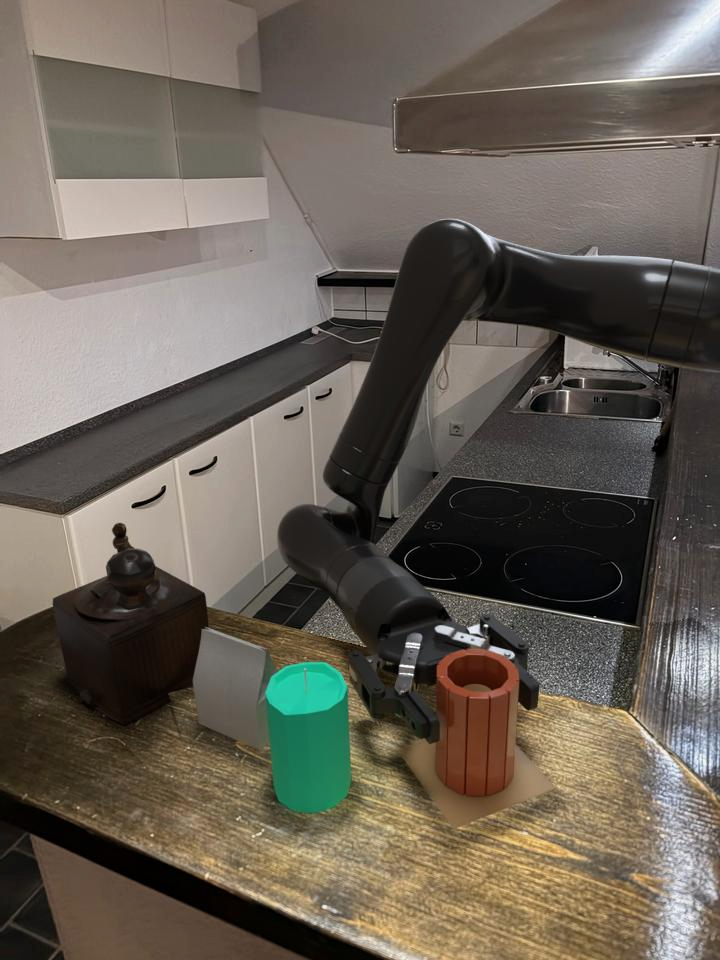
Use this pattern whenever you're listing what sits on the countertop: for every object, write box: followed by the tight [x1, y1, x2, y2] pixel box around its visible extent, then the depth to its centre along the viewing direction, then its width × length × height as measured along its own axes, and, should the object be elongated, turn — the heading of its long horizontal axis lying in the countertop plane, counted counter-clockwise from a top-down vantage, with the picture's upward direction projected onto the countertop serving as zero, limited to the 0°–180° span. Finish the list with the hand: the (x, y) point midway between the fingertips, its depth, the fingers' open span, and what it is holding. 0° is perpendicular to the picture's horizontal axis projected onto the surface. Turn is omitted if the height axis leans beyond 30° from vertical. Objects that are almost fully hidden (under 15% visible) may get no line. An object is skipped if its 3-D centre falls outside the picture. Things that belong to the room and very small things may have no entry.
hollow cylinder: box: [435, 649, 519, 797], centre depth 58 cm, size 6×6×9 cm
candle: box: [265, 661, 352, 814], centre depth 57 cm, size 6×6×12 cm
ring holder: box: [397, 684, 557, 830], centre depth 59 cm, size 9×9×8 cm
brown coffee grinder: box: [52, 522, 210, 726], centre depth 69 cm, size 16×11×18 cm
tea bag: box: [193, 627, 279, 751], centre depth 64 cm, size 4×7×10 cm, turn 59°
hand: (486, 716), depth 56 cm, fingers open, 8 cm apart
